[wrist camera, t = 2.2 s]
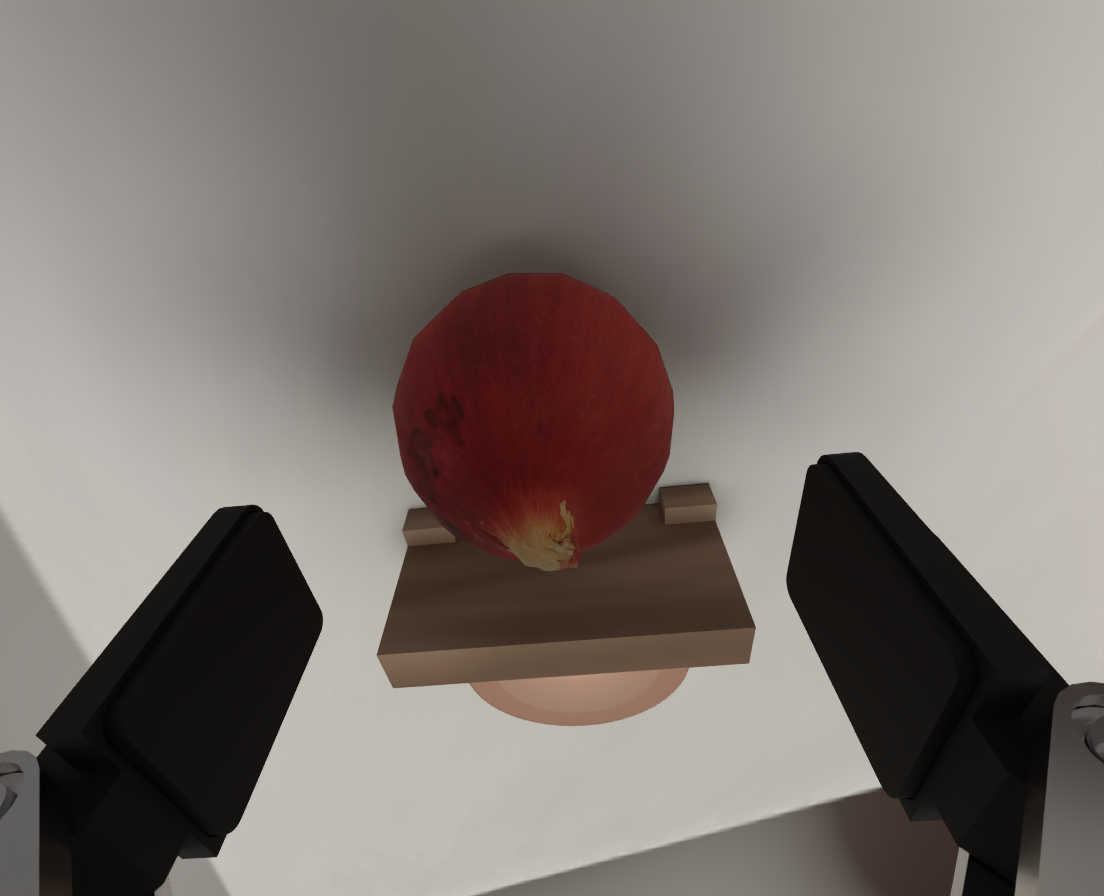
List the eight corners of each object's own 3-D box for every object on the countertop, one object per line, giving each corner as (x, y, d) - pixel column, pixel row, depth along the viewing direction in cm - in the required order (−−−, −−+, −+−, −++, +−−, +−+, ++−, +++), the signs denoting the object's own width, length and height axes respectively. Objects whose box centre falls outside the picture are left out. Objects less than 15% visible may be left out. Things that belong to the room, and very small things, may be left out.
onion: (489, 456, 17) (454, 704, 10) (386, 289, 14) (240, 491, 7) (669, 391, 15) (760, 626, 9) (600, 191, 12) (662, 327, 6)
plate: (446, 578, 20) (441, 605, 19) (688, 559, 19) (696, 585, 18) (487, 706, 25) (485, 732, 24) (679, 693, 25) (685, 720, 24)
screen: (408, 509, 18) (368, 639, 14) (708, 483, 17) (758, 610, 13) (429, 570, 20) (399, 700, 16) (703, 548, 19) (746, 677, 15)
